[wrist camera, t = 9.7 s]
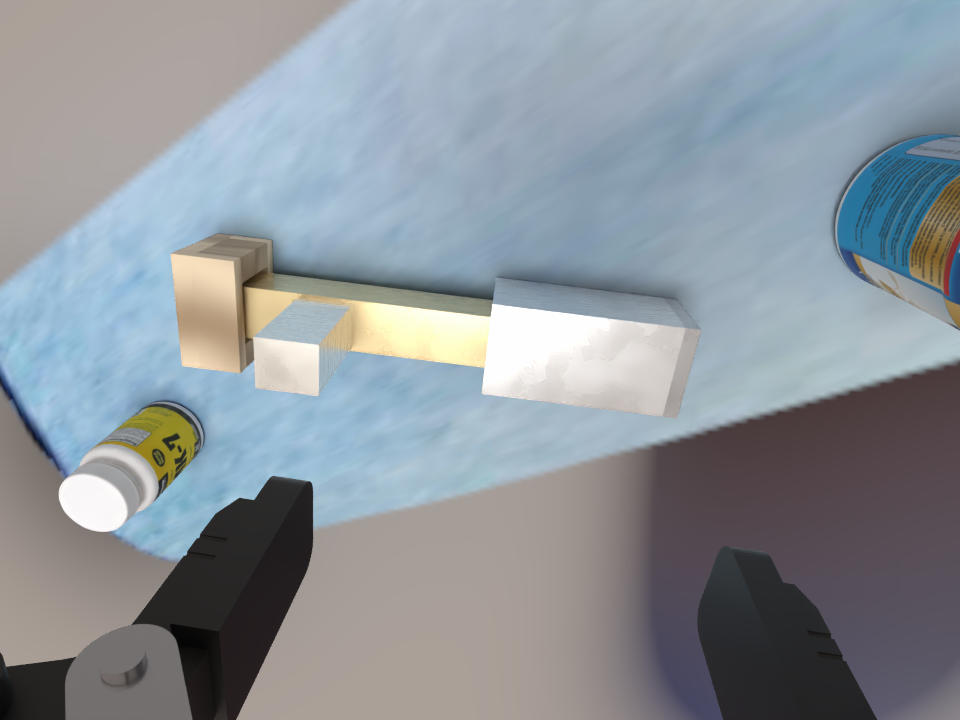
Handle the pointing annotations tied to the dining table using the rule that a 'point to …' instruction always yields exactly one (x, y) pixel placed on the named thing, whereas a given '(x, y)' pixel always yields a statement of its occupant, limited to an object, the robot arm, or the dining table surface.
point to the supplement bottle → (131, 466)
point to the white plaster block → (589, 348)
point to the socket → (216, 299)
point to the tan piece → (353, 328)
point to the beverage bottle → (907, 224)
